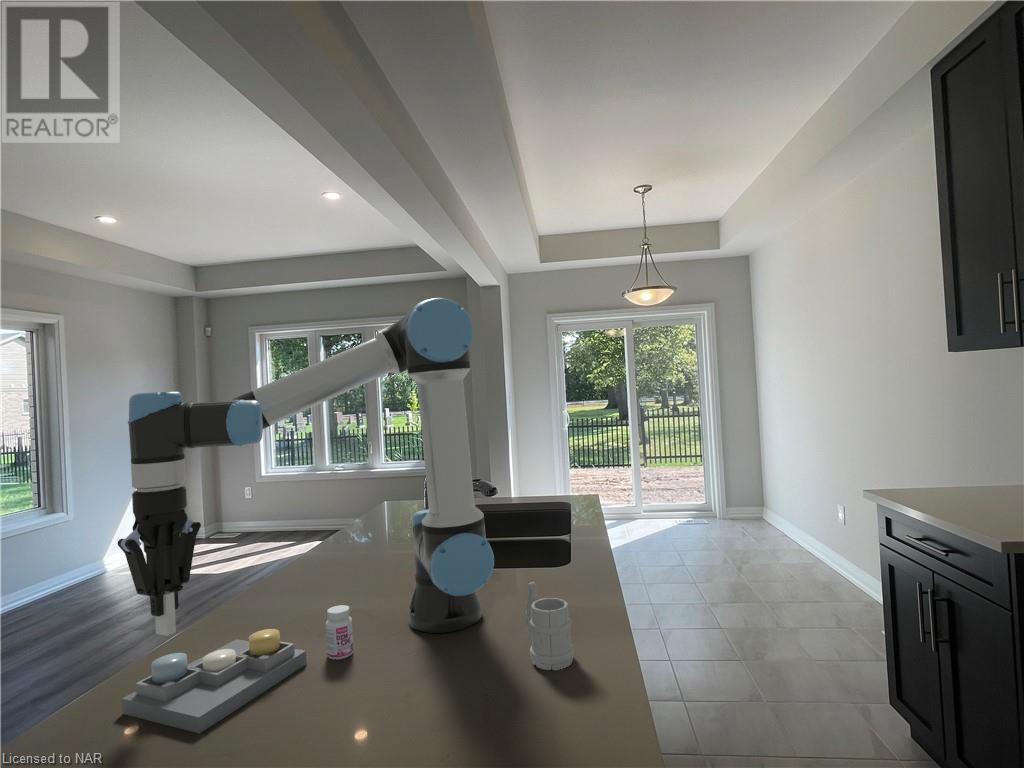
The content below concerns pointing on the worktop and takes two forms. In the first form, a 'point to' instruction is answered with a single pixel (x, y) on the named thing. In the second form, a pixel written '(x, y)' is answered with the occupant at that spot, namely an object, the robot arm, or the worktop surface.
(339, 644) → the pill bottle
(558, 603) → the mug
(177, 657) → the slate button
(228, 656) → the ivory button
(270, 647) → the ochre button
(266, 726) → the worktop surface
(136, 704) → the panel
